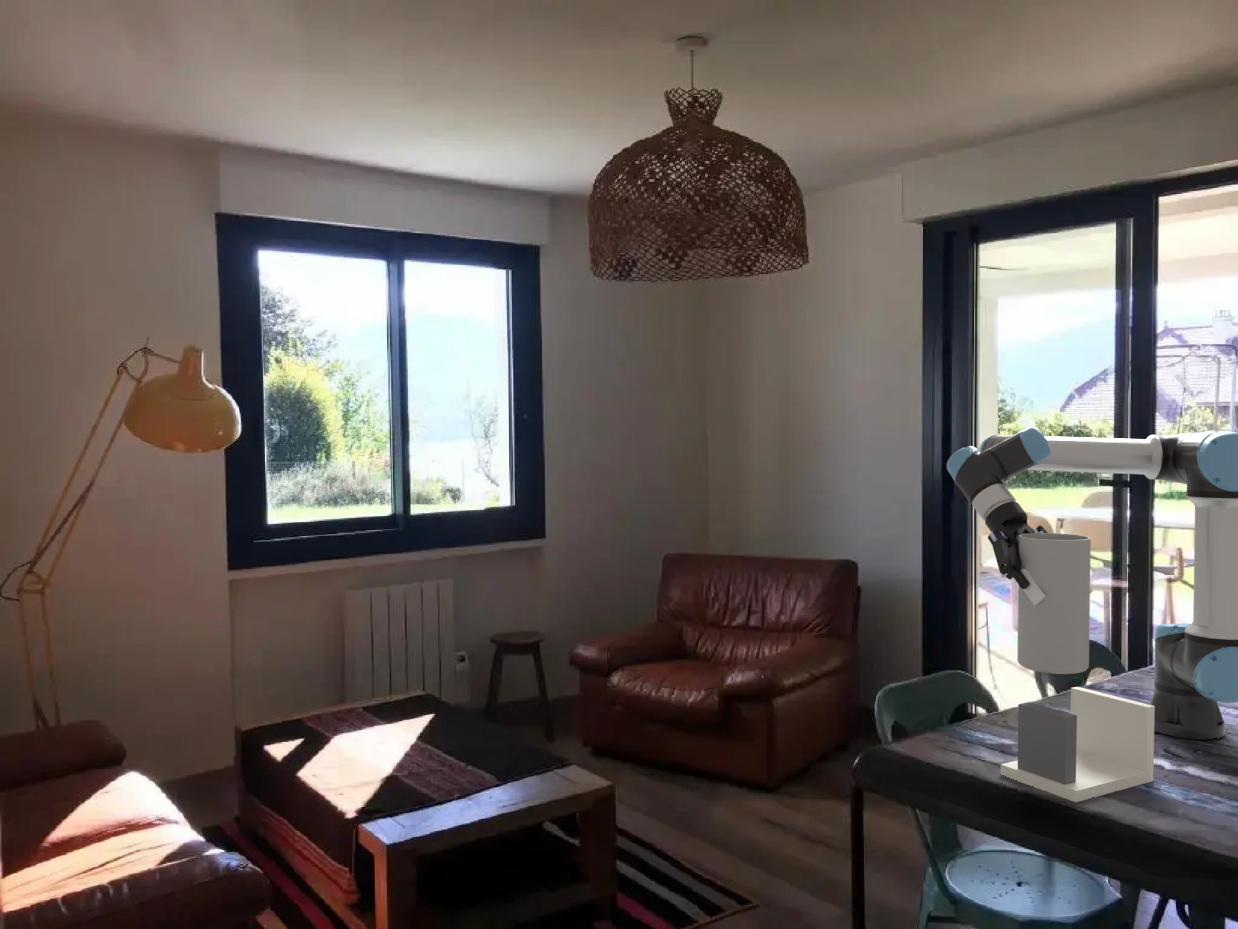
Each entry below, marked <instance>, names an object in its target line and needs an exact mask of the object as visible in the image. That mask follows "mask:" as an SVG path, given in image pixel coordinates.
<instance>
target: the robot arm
mask: <svg viewBox="0 0 1238 929" xmlns="http://www.w3.org/2000/svg"><path fill="white" fill-rule="evenodd" d="M946 470H947V472H948V473H949V474H950V476H951V478H952V479H953V481H954V483H955V485H956V486H958V488H959V490H960V491H961V493H963V495H964V496H965V497H966V499H967V500H968V502H969V503H970V505H972V507H973V509H974V510H975V511H976V512H977V514H978V515H979V517H980V518H981V520H982V521H983V522H984V523H985V525H986V527H987V528H988V530H989V531H990V534H988V536H987V539H988V540H989V543H990V544H991V546H992V550H993V553H994V556H995V560H996V563H997V566H998V570H999V573H1000V574H1001V575H1003V576H1005V577H1006V579H1008V580H1012V579H1014V580H1015V582H1016V583H1017V584H1019V586H1020V587H1021V588H1022V589H1023V590H1024V592H1025V593H1026V594H1027V596H1028V597H1029V599H1030V600H1031V601H1032V603H1033V604H1034V605H1038V604H1039V603H1040V602H1041V601H1042V600H1043V599H1044V598H1045V597H1046V596H1045V594H1044V593H1043V592H1042V590H1041V589H1040V588H1039V586H1038V585H1037V583H1036V582H1035V581H1034V579H1033V578H1032V577H1031V575H1030V574H1029V573H1028V571H1027V570H1026V569H1022V570H1020V569H1021V558H1020V555H1019V535H1020V534H1028V533H1049V532H1048V530H1046V529H1045V528H1044V526H1042V525H1038V526H1037V527H1036V528H1033V527H1031V526H1030V525H1029V524H1028V515H1027V513H1026V512H1025V510H1024V509H1023V507H1022V506H1021V505H1020V504H1019V502H1017V499H1016V498H1015V497H1014V495H1013V494H1012V493H1011V491H1009V489H1008V487H1006V485H1005V484H1004V482H1006V481H1008V480H1009V479H1011V478H1013V477H1016V476H1017V475H1020V474H1021V473H1023V472H1025V471H1042V472H1043V471H1045V472H1047V471H1048V472H1073V473H1074V472H1075V473H1097V474H1100V473H1101V474H1123V475H1124V474H1127V475H1144V476H1145V477H1146V478H1147V479H1148V480H1157V481H1158V480H1160V481H1166V482H1167V481H1169V482H1174V483H1177V484H1178V483H1180V484H1184V485H1186V498H1187V499H1188V500H1189V502H1191V503H1192V504H1193V505H1194V552H1193V555H1194V556H1193V557H1194V558H1193V559H1194V560H1193V562H1194V563H1193V611H1192V612H1193V615H1192V617H1193V620H1192V623H1160V624H1159V625H1158V626H1157V627H1156V629H1155V637H1153V638H1154V691H1153V693H1152V695H1151V698H1150V701H1149V705H1153V706H1155V713H1154V732H1156V733H1159V734H1163V735H1166V736H1170V737H1171V736H1172V737H1176V738H1183V739H1191V740H1214V739H1213V738H1217V739H1219V738H1218V737H1221V736H1223V737H1225V735H1224V734H1226V724H1225V721H1224V718H1223V715H1222V712H1221V709H1220V706H1219V703H1223V704H1233V703H1238V432H1236V431H1235V432H1234V431H1233V430H1217V431H1216V430H1214V431H1212V430H1211V431H1210V430H1209V431H1204V430H1203V431H1202V430H1201V431H1192V432H1184V433H1176V434H1175V433H1173V434H1150V435H1149V436H1147V437H1146V438H1145V439H1143V438H1114V437H1110V438H1108V437H1082V436H1081V437H1080V436H1079V437H1077V436H1075V437H1074V436H1051V435H1050V436H1045V434H1043V432H1042V431H1041V430H1040V429H1039V428H1038V427H1035V426H1028V427H1026V428H1024V429H1020V430H1019V431H1018V432H1016V433H1015V434H993V435H990V436H988V437H986V438H985V439H984V440H983V441H982V442H981V444H980V447H979V449H978V448H976V447H975V446H972V445H969V446H966V447H962V448H959V449H958V450H956V451H954V453H953V454H951V455H950V457H949V459H948V460H947V462H946ZM1093 591H1094V589H1093V588H1092V587H1091V586H1090V594H1092V592H1093ZM1221 738H1222V737H1221Z"/></svg>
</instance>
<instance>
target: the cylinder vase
mask: <svg viewBox="0 0 1238 929" xmlns="http://www.w3.org/2000/svg"><path fill="white" fill-rule="evenodd" d="M1091 544H1092V543H1091V537H1090V536H1086V535H1080V534H1072V533H1071V534H1070V533H1055V532H1052V533H1051V532H1048V533H1028V534H1020V535H1019V555H1020V558H1021V569H1020V570H1022V569H1026V570H1027V571H1028V573H1029V574H1030V575H1031V577H1032V578H1033V579H1034V581H1035V582H1036V583H1037V585H1038V586H1039V588H1040V589H1041V590H1042V592H1043V593H1044V594H1045V596H1046V597H1045V598H1044V599H1043V600H1042V601H1041V602H1040V603H1039V604H1038V605H1034V604H1033V603H1032V601H1031V600H1030V599H1029V597H1028V596H1027V594H1026V593H1025V592H1024V590H1023V589H1022V588H1021V587H1020V586H1019V584H1018V583H1017V584H1018V585H1017V586H1018V587H1017V588H1018V590H1017V595H1018V596H1017V599H1018V600H1017V659H1016V660H1017V663H1018V664H1019V665H1020V666H1021V667H1023V668H1025V669H1028V670H1030V671H1035V672H1039V673H1045V674H1053V675H1054V674H1055V675H1074V674H1081V673H1084V672H1086V671H1087V670H1088V669H1089V667H1090V666H1089V665H1090V620H1091V619H1090V612H1091V611H1090V609H1091V607H1090V606H1091V604H1090V603H1091V593H1090V587H1091V552H1092V551H1091V549H1092V548H1091Z"/></svg>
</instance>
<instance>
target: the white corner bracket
mask: <svg viewBox="0 0 1238 929" xmlns="http://www.w3.org/2000/svg"><path fill="white" fill-rule="evenodd" d="M1017 709H1018V717H1017V722H1018V724H1017V728H1018V729H1017V760H1013V761H1009V762H1005V763H1001V764H1000V774H1001V775H1000V776H1002V775H1004V776H1003V777H1005V776H1006V777H1005V778H1008V777H1009V778H1008V779H1011V780H1013V779H1014V781H1016V780H1017V781H1016V782H1018V783H1022V784H1024V785H1027V786H1030V787H1032V786H1033V788H1036V789H1039V790H1041V791H1044V792H1046V791H1047V792H1046V793H1050V794H1052V795H1054V796H1058V797H1060V798H1063V799H1066V800H1068V801H1071V802H1074V803H1079V802H1082V801H1083V802H1084V801H1086V800H1090V799H1093V798H1092V797H1094V798H1097V797H1100V796H1101V797H1102V796H1104V795H1108V794H1112V793H1116V792H1119V791H1122V790H1126V789H1130V788H1133V787H1136V786H1140V785H1144V784H1147V783H1151V782H1154V766H1155V765H1154V758H1155V757H1154V755H1155V753H1154V752H1155V751H1154V750H1155V731H1154V713H1155V706H1153V705H1149V704H1148V703H1144V702H1141V701H1137V700H1133V699H1128V698H1125V697H1124V698H1123V697H1120V696H1115V695H1113V694H1112V695H1111V694H1108V693H1104V692H1100V691H1096V690H1093V689H1088V688H1084V687H1080V686H1075V687H1074V686H1073V687H1070V712H1067V711H1063V710H1059V709H1056V708H1052V707H1049V706H1045V705H1041V704H1038V703H1034V702H1030V701H1027V702H1023V703H1018V708H1017ZM1115 791H1116V792H1115ZM1089 798H1090V799H1089Z"/></svg>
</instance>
